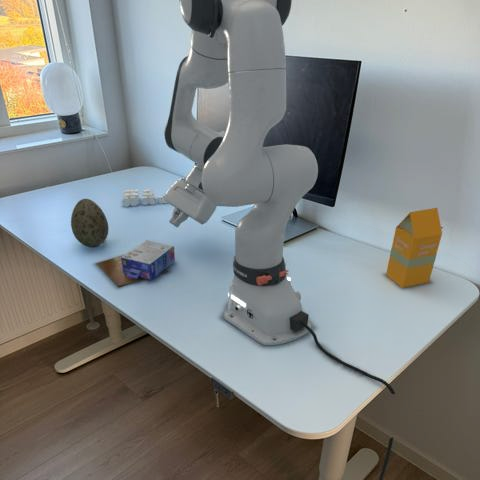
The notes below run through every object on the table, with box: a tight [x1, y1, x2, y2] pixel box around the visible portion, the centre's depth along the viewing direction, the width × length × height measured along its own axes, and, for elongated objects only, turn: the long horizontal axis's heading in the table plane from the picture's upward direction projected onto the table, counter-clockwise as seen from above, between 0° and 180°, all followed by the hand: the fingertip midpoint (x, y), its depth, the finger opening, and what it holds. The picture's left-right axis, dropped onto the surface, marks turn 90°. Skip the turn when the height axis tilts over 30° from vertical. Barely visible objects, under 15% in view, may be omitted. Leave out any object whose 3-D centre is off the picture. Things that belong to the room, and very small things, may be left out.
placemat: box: [96, 254, 169, 288], centre depth 133 cm, size 15×16×1 cm
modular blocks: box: [122, 188, 169, 208], centre depth 175 cm, size 20×7×4 cm, turn 101°
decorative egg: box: [70, 198, 109, 248], centre depth 141 cm, size 11×11×15 cm
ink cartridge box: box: [121, 239, 176, 281], centre depth 130 cm, size 10×6×14 cm
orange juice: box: [385, 207, 443, 289], centre depth 122 cm, size 8×9×20 cm
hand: (173, 224), depth 134 cm, fingers closed
